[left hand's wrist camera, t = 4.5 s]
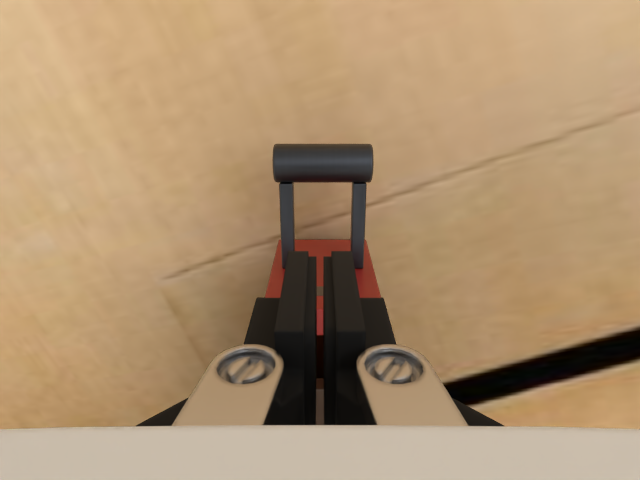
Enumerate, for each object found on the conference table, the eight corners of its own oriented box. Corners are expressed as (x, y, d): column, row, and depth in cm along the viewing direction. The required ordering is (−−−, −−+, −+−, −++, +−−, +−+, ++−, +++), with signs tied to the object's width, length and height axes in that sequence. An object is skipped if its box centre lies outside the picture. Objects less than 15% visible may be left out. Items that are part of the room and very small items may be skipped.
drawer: (275, 132, 23) (253, 162, 16) (370, 132, 23) (393, 162, 16) (286, 444, 30) (274, 564, 23) (358, 444, 30) (370, 564, 23)
